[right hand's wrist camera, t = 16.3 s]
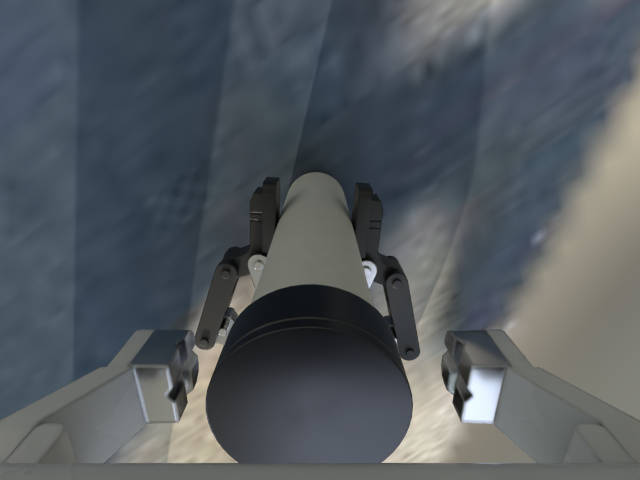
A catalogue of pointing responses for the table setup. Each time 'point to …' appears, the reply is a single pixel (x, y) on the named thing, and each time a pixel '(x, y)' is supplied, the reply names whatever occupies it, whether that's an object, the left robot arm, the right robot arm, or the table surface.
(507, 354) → the right robot arm
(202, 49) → the table surface
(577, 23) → the table surface
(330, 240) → the grey cylinder
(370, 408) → the lid
